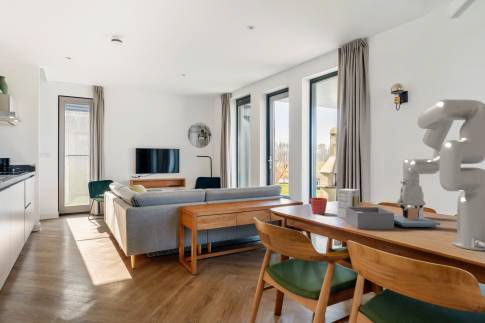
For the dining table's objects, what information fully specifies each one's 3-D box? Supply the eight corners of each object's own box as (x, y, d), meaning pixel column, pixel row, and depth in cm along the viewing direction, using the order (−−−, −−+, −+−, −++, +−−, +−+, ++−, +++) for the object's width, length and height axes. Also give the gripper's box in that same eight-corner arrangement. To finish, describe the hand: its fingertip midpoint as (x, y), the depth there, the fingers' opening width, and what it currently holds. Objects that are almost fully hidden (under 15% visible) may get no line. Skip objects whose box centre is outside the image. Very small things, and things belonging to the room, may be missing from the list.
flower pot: (309, 214, 188) (309, 199, 188) (310, 211, 199) (310, 197, 198) (326, 215, 185) (327, 200, 185) (327, 212, 195) (327, 197, 195)
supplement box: (351, 219, 173) (351, 190, 173) (337, 217, 180) (337, 189, 180) (359, 217, 179) (359, 189, 179) (345, 215, 186) (345, 188, 186)
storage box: (393, 229, 150) (394, 213, 150) (357, 228, 151) (357, 212, 150) (378, 221, 168) (378, 207, 168) (345, 221, 169) (346, 207, 168)
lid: (440, 227, 149) (440, 211, 149) (401, 227, 150) (401, 210, 149) (418, 219, 168) (418, 204, 168) (384, 219, 169) (384, 204, 168)
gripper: (398, 183, 155) (398, 218, 155) (431, 183, 155) (431, 219, 155) (391, 182, 162) (391, 216, 163) (423, 182, 162) (423, 216, 162)
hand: (410, 217), depth 159 cm, fingers closed on lid, 5 cm apart
